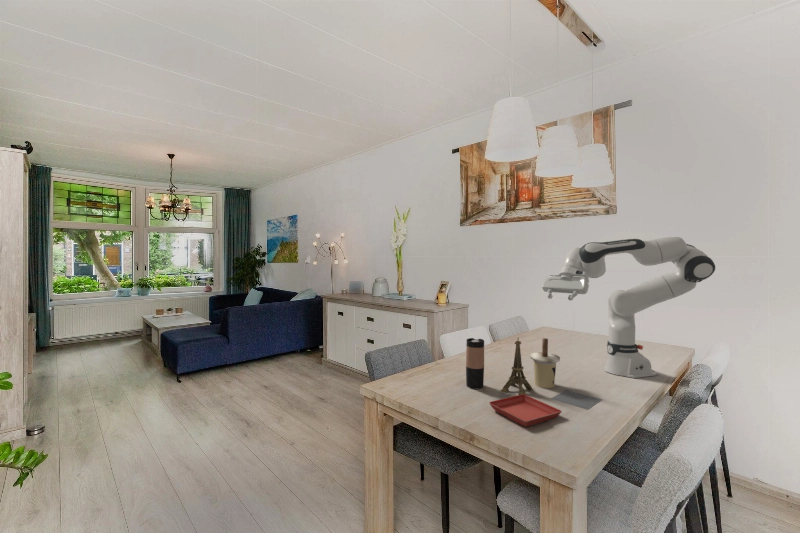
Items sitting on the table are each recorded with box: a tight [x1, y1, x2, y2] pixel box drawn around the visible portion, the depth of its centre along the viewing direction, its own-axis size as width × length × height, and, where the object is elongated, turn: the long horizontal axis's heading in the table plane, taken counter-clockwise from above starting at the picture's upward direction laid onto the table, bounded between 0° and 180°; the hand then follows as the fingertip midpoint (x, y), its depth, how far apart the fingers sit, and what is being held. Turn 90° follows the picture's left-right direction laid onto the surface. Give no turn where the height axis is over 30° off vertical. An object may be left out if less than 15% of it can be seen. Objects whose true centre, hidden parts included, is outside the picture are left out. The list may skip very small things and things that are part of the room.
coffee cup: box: [533, 360, 558, 389], centre depth 164 cm, size 9×9×12 cm
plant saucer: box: [488, 394, 563, 428], centre depth 136 cm, size 18×18×3 cm
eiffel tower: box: [499, 338, 534, 395], centre depth 158 cm, size 11×11×25 cm
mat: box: [550, 389, 603, 411], centre depth 149 cm, size 14×14×1 cm
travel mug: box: [465, 337, 485, 390], centre depth 163 cm, size 8×8×20 cm
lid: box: [529, 337, 561, 363], centre depth 163 cm, size 12×12×8 cm
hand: (559, 298), depth 173 cm, fingers open, 8 cm apart
